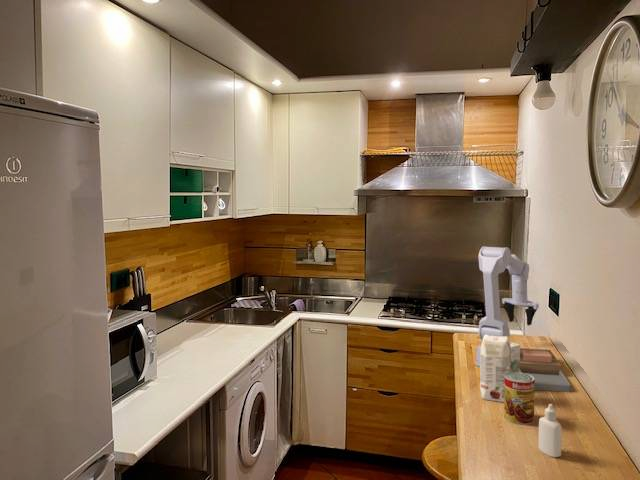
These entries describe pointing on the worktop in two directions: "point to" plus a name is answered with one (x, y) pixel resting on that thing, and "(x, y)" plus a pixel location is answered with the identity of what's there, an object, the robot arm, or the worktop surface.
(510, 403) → the canned food
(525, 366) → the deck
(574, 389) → the worktop surface
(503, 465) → the worktop surface
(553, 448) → the eye dropper bottle
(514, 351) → the syrup box
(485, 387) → the juice carton
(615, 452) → the worktop surface
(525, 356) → the tile
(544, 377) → the tray
